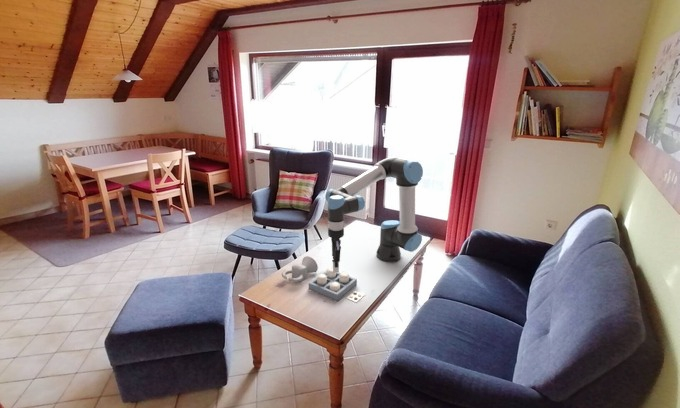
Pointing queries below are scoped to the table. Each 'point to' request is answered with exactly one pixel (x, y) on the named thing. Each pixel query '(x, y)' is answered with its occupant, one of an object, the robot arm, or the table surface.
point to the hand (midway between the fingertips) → (335, 271)
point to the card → (355, 296)
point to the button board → (329, 293)
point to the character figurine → (301, 269)
